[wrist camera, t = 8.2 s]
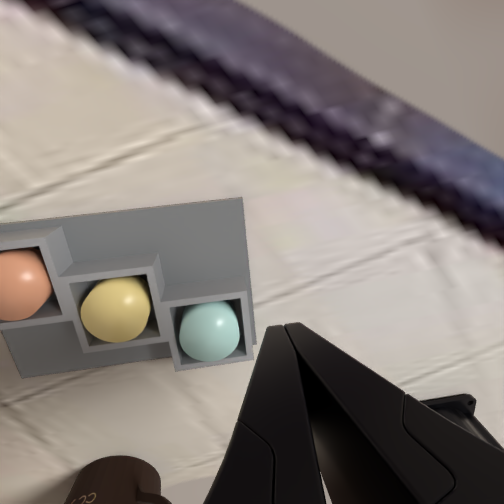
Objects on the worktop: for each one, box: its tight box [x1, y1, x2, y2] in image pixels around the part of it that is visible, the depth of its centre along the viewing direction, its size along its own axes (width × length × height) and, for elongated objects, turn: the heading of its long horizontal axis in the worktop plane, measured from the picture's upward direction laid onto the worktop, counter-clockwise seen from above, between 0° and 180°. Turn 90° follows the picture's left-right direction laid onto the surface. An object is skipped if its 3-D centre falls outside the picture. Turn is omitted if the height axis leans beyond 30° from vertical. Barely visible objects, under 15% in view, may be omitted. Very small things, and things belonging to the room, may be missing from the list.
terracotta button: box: [0, 247, 55, 321], centre depth 18 cm, size 3×3×2 cm
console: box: [0, 197, 257, 378], centre depth 19 cm, size 15×10×2 cm, turn 95°
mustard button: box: [81, 275, 153, 343], centre depth 19 cm, size 3×3×2 cm
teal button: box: [179, 300, 239, 362], centre depth 20 cm, size 3×3×2 cm
